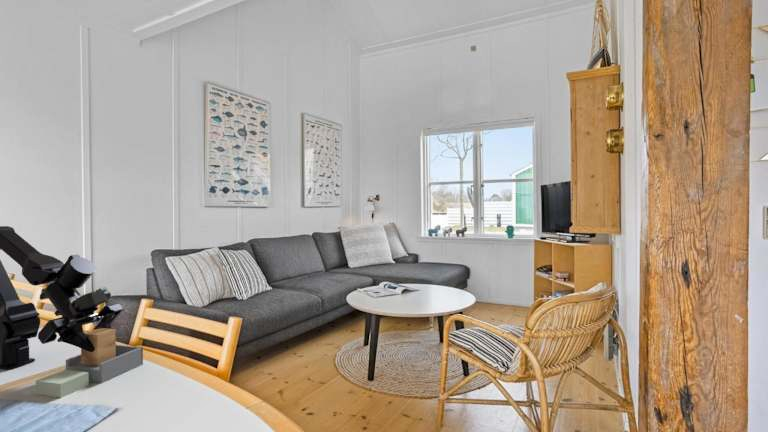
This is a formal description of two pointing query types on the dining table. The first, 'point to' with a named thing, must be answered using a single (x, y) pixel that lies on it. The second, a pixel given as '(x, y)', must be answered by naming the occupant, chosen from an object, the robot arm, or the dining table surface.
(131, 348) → the tray
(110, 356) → the oak pillar
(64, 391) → the step
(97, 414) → the dining table surface
